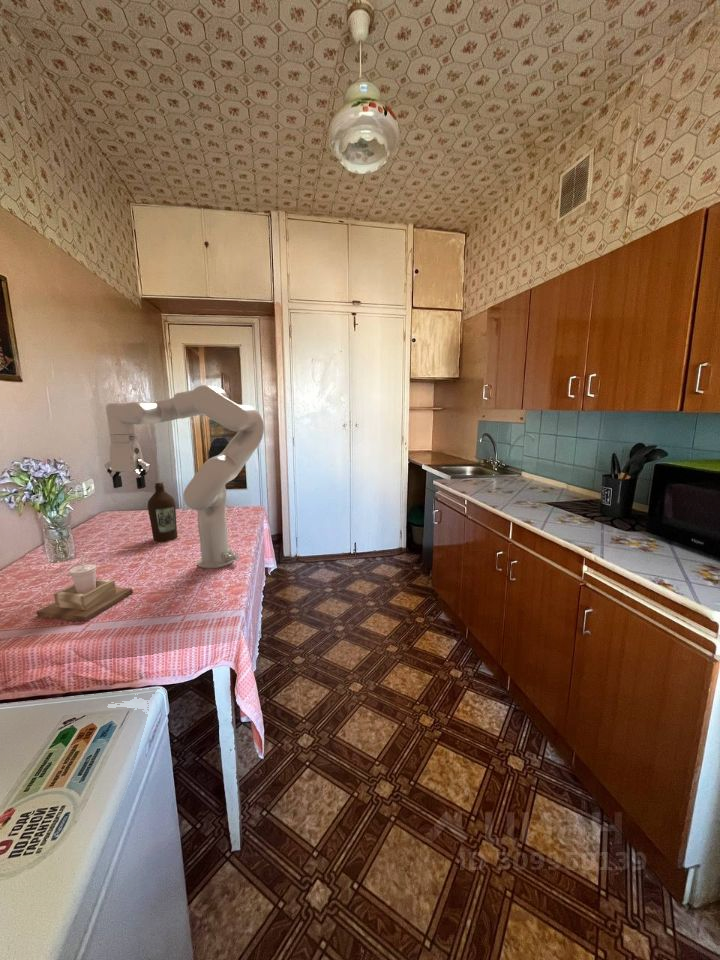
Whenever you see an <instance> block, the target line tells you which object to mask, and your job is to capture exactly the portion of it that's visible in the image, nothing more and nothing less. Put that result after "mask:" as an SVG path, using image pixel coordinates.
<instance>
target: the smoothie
mask: <svg viewBox="0 0 720 960" xmlns="http://www.w3.org/2000/svg"><path fill="white" fill-rule="evenodd" d="M83 554H84V553H80V554H79V556H80V565H77V566H74V567H72V568H71V569H69V570H68V573H69V574H68V575H69V576H71V580H72V582H73V584H74V585H75V588H76V591H77V594H85V593H87V592H89V591H91V590H93V589H95V588H96V579H97V578H96V573H97V572H96V570H98V569H97V565H96V564H94V563H85V562H84V555H83Z"/></svg>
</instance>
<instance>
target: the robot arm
mask: <svg viewBox="0 0 720 960" xmlns="http://www.w3.org/2000/svg"><path fill="white" fill-rule="evenodd" d="M105 411H106V418H107V425H108V432H109V438H110V439H109V440H110V441H109V442H110V444H109V461H108V462H106V463H104V467H105V469H106V470H107V471H106V472H107V473H108V474H109V476H110V478H112V484H113V489H117V488H122V487H123V481H122V476H121V475H120V474H121V473H134V474H135V475H136V480H135V481H136V487H137V489H138V490H139V489H140V490H141V489H144V488H145V489H146V487H147V486H146V478H145V477H147V474H148V472H149V469H150V464H149V463H148V462H145V461H144V456H143V452H142V449H141V446H140V444H139V443H138V442H137V440H138V436H137V435H136V430H135V426H136V425H137V426H139V425H140V426H141V425H152V424H160V423H164V422H170V421H175V420H179V419H182V420H183V419H187V418H191V417H196V416H197V417H198V416H201V415H204V416H206V417H207V418H208V419H211V420H213V422H216V423H217V424H219V425H220V426H222V427H224V428H226V429H227V430H229V431H233V432H236V434H235V435H234V436H233V437H232V438H231V439H230V441H229V442H228V443H227V445H226V446H225V448H224V449H223V450H222V451H221V452H220V453H219V454H218V455H215V456H212V457H210V458H208V459H207V460H206V461H205V462H204V463H203V464H202V465H201V466H200V467H199V469H198V470H197V471H196V473H195V474H194V475H193V477H192V478H191V480H189V481H190V482H189V483H188V484H187V486H186V487H185V489H184V491H183V503H185V505H186V506H187V507H188V508H189V509H191V510H193V511H197V525H198V534H199V545H200V554H201V558H199V559H198V560H197V566H198V567H199V568H201V569H209V570H211V569H212V570H213V569H219V568H220V569H221V568H223V567H226V566H229V565H231V564H232V563H234V561H238V560H239V552H233V549H232V548H231V547H230V546H229V535H228V523H227V520H228V519H227V510H226V509H227V508H226V507H227V506H226V504H227V489H226V488H227V487H226V485H227V483H229V482H231V481H233V480H234V479H235V478H237V477H238V475H239V474H240V473H241V471H242V469H243V468H244V467H245V465H246V463H247V462H248V461H249V460H250V458H251V457H252V455H253V454H254V453H255V451H256V450H257V448H258V446H260V443H261V441H262V439H263V436H264V431H265V425H264V421H263V418H262V415H261V413H260V412H259V411H258V410H257V409H256V408H255V407H253V406H252V405H248V404H238V403H236V402H234V401H233V400H231V399H229V397H228V394H227V393H226V391H225V390H224V389H223V388H221V387H218V386H216V385H208V384H203V385H198V386H197V387H195V388H194V389H192V390H187V391H181V392H176V393H175V394H174V396H173V397H171V398H168V399H162V400H157V401H133V402H111V403H108V404H106V407H105Z"/></svg>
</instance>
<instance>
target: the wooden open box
mask: <svg viewBox="0 0 720 960" xmlns="http://www.w3.org/2000/svg"><path fill="white" fill-rule="evenodd" d="M115 582H116V581H115V580H114V579H101V578H96V588H95V589H93V590H91V591H89V592H87V593H85V594H77V591H76V588H75V585H74V583H73V584H71V585H69V586H67V587H64V588H63V589H61V590H59V591H56V592H54V593H53V596H54V597H53V598H54V602H52V603H51V604H48V605H47V606H45V607H43V608H41V609H39V610H36V614H37V615H36V616H37V617H38V616H43V617H42V618H46V617H49V618H48V619H54V618H56V620H63V619H64V620H66V621H72V620H75V621H74V622H81V621H84V622H83V623H87V622H89V621H91V620H92V619H94V618H95V617H97V616H100V615H101V614H102V613H104V612H105V611H107V610H108V609H110V608H112V607H113V606H115V605H117V604H119V603H120V602H122V601H123V600H125V599H127V598H128V597H129V595H130V596H131V595H133V594H134V591H133V590H134V589H133V588H126V587H116V584H115ZM132 593H133V594H132ZM124 598H125V599H124ZM121 600H122V601H121ZM90 619H91V620H90ZM88 620H89V621H88Z"/></svg>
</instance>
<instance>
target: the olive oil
mask: <svg viewBox="0 0 720 960" xmlns="http://www.w3.org/2000/svg"><path fill="white" fill-rule="evenodd" d="M154 489H155V491H154V493H153V494H152V496H151V497H150V498H149V499H148V501H147V510H148V511H147V512H148V516H149V522H150V528H151V533H152V539H153V542H155V541H156V542H155V543H164V541H166V542H170V540H171V541H172V540H173V539H174V540H175V538H176V539H177V538H178V528H177V527H178V524H177V512H176V501H175V499H174V497H173V496H172V495H170V494H169V493H168V492H167V491H165V485H164V482H163V481H157V482H154Z"/></svg>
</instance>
